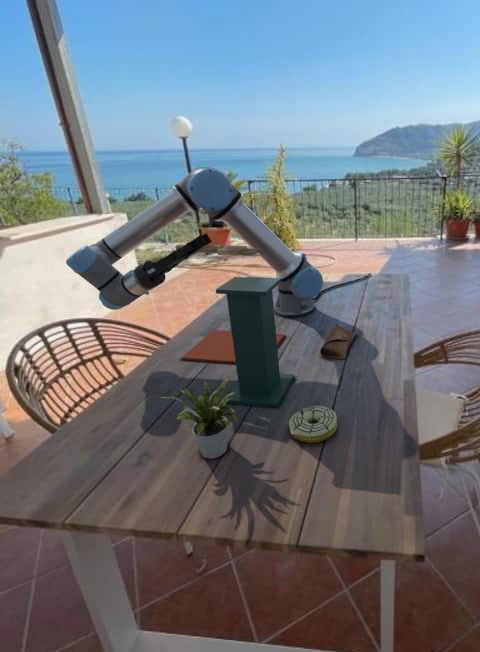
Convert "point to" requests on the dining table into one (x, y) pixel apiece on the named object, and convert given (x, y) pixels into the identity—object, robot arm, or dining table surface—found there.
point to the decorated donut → (313, 424)
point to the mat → (217, 348)
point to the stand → (255, 342)
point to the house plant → (209, 420)
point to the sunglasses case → (338, 343)
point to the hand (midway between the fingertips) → (206, 238)
